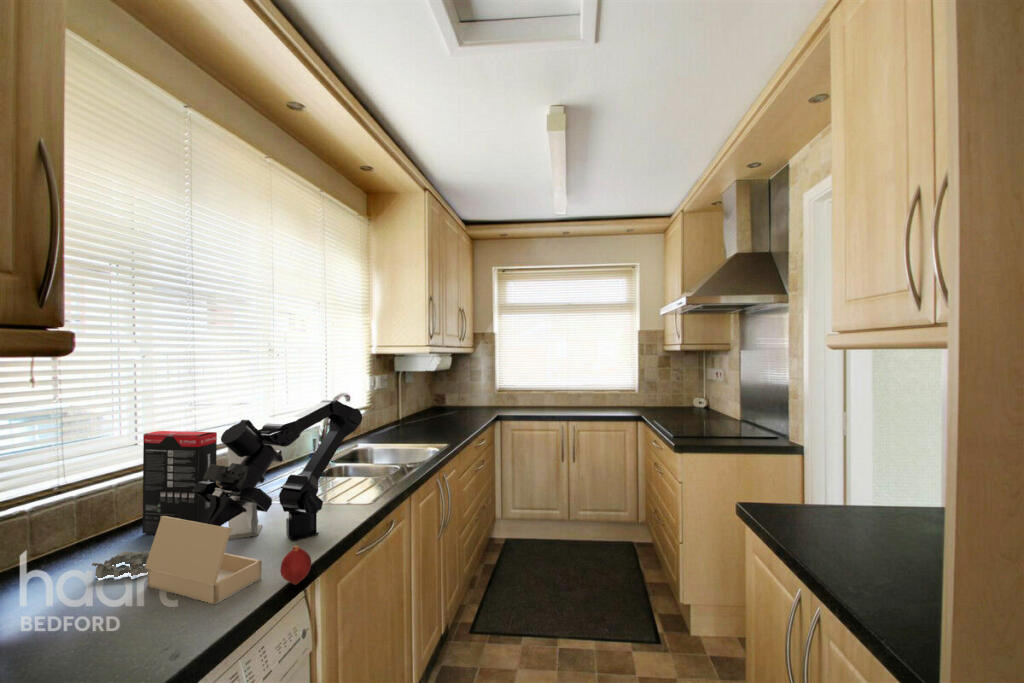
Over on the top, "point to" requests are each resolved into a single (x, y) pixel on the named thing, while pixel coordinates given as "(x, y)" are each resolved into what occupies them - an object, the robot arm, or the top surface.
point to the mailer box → (230, 581)
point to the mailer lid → (188, 549)
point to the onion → (295, 565)
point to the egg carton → (128, 557)
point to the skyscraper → (247, 520)
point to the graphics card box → (175, 475)
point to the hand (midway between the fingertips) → (205, 533)
